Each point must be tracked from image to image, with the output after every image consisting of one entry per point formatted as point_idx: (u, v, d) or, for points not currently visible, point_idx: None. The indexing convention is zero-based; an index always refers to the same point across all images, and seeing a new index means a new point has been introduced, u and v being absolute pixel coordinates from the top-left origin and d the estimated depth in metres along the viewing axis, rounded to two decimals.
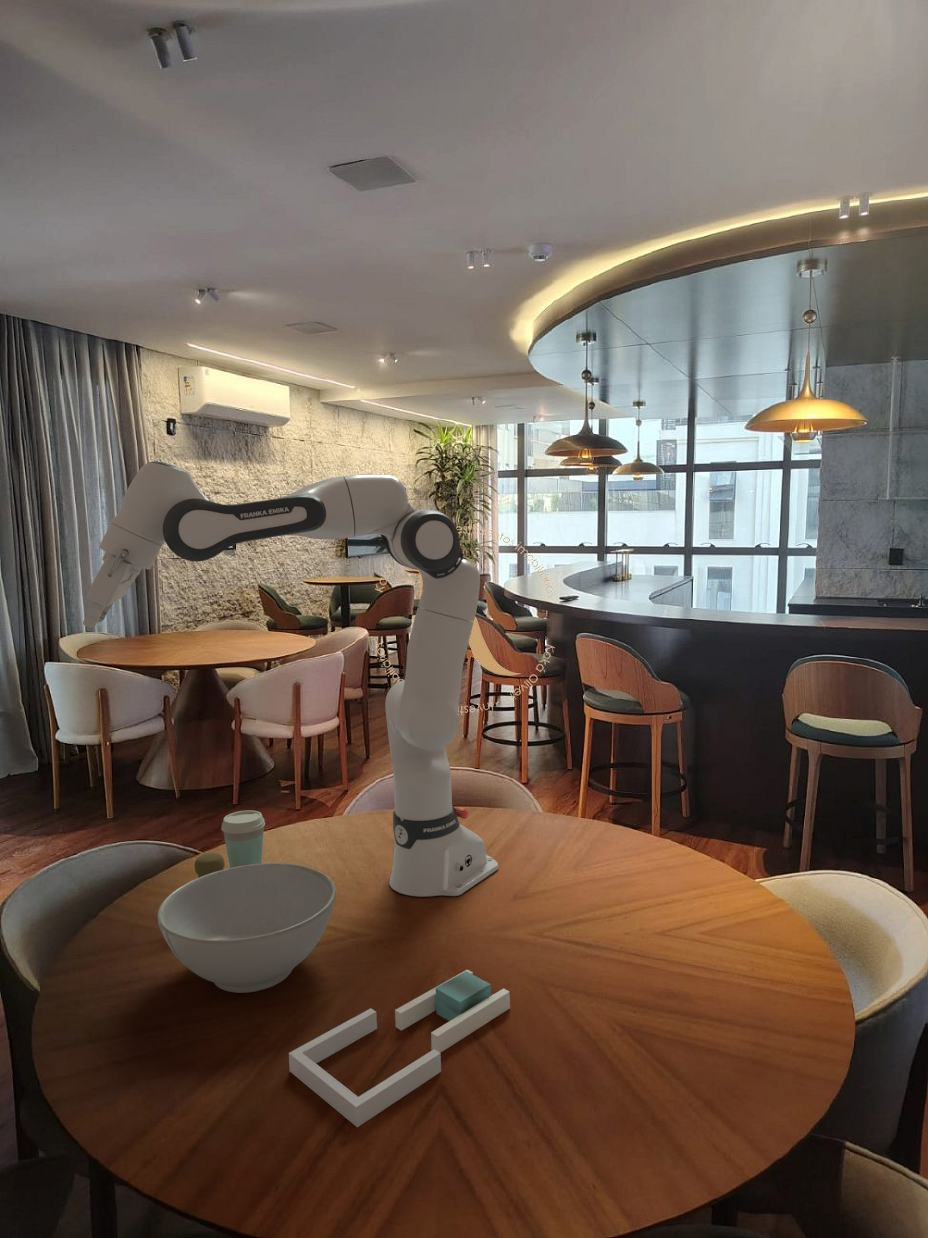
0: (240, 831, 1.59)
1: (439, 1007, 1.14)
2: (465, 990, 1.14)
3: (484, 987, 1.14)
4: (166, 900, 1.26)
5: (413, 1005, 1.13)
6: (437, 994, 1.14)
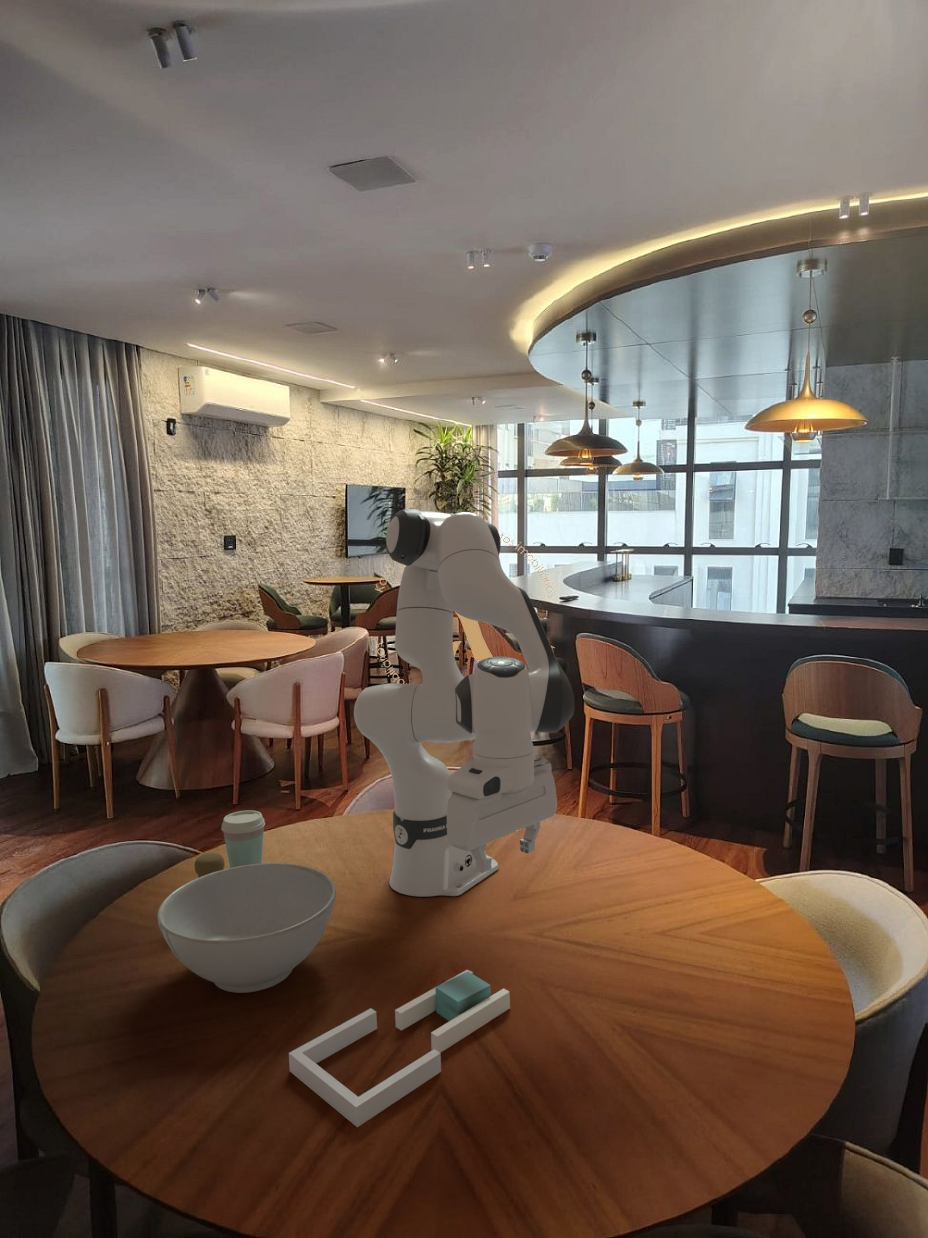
0: (240, 831, 1.59)
1: (438, 1006, 1.15)
2: (464, 990, 1.14)
3: (484, 988, 1.14)
4: (166, 900, 1.26)
5: (413, 1005, 1.13)
6: (437, 993, 1.15)
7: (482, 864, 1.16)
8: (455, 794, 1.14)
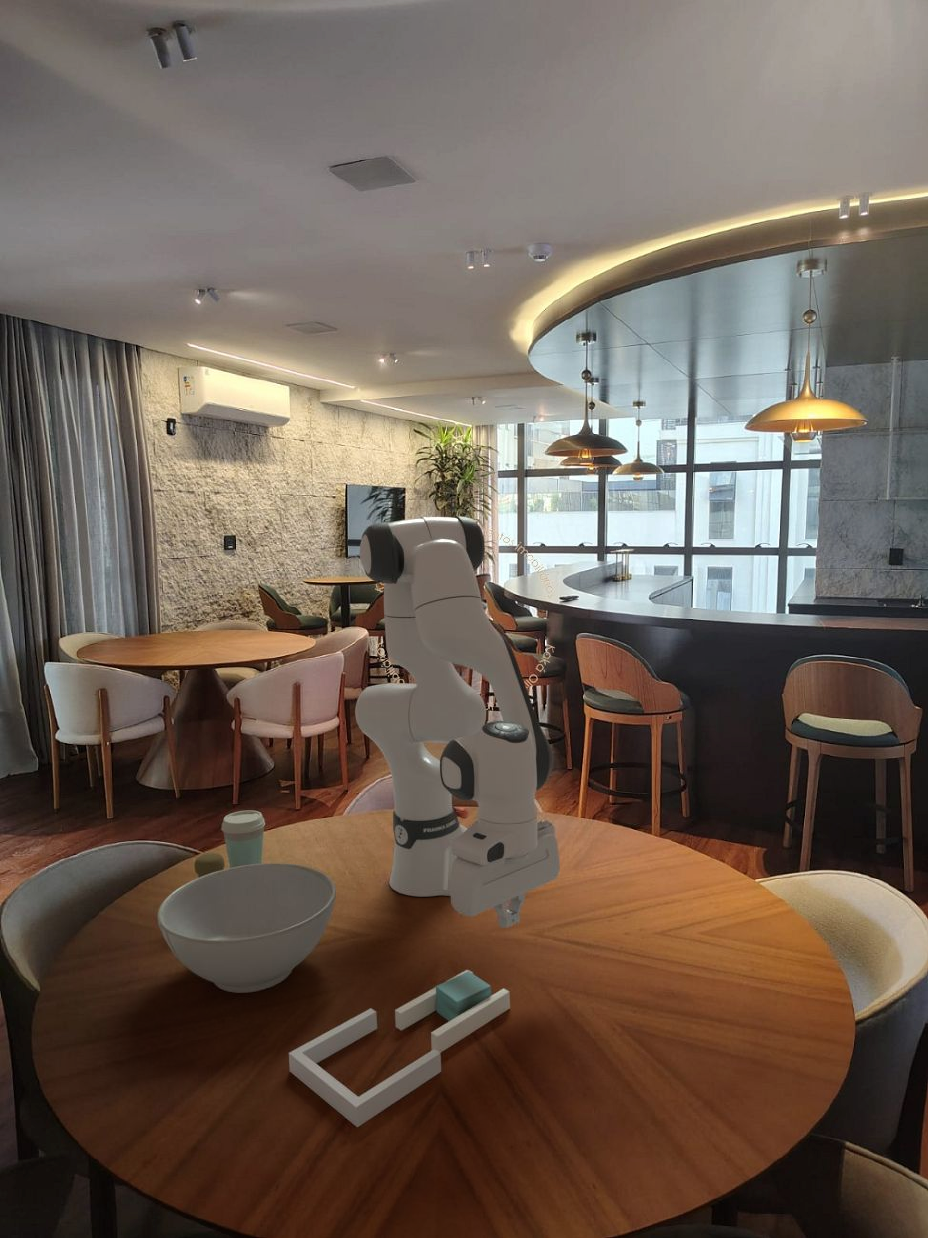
0: (240, 831, 1.59)
1: (438, 1005, 1.15)
2: (464, 990, 1.14)
3: (484, 989, 1.14)
4: (166, 900, 1.26)
5: (413, 1005, 1.13)
6: (437, 992, 1.15)
7: (504, 920, 1.19)
8: (459, 858, 1.15)
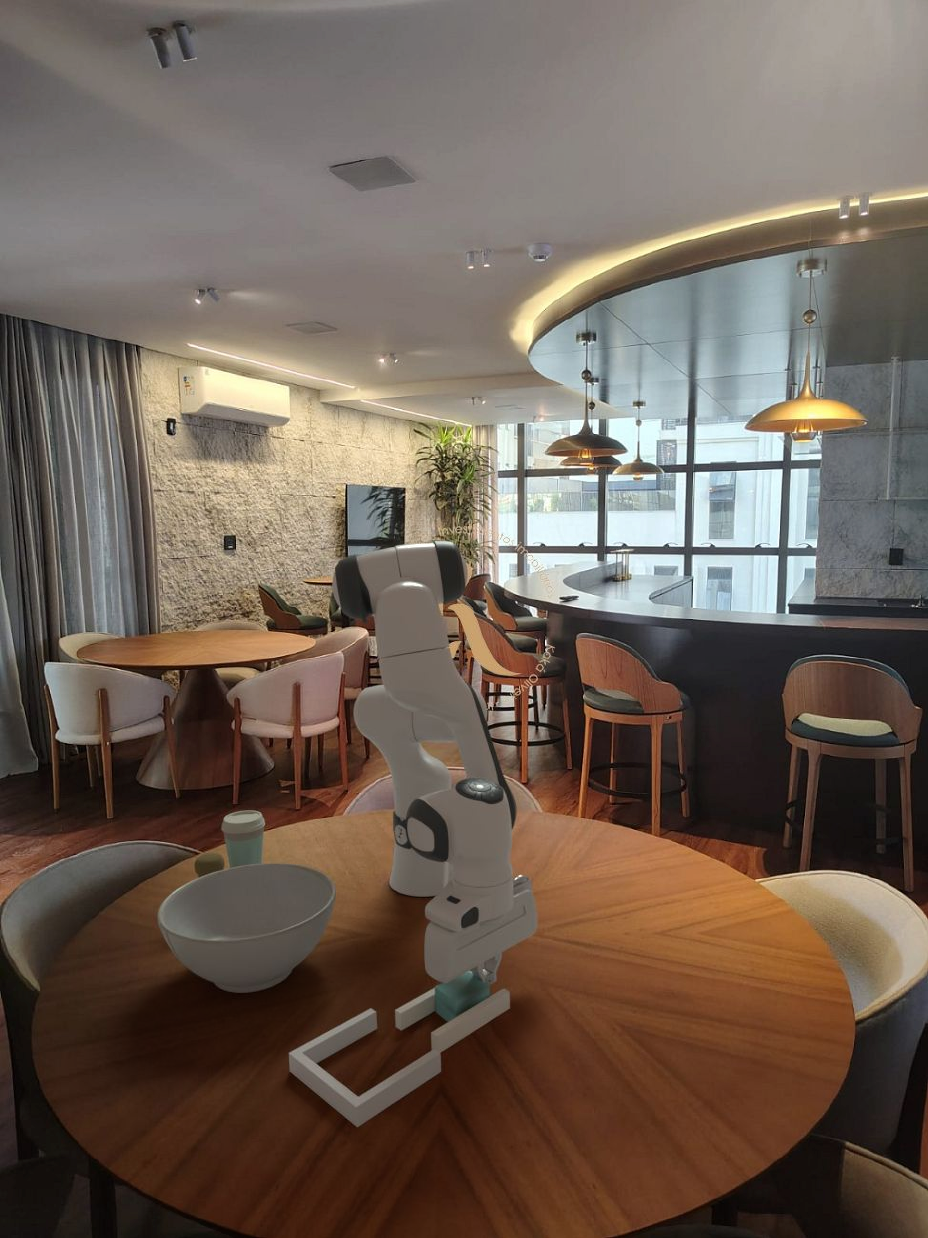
0: (240, 831, 1.59)
1: (437, 1005, 1.15)
2: (463, 991, 1.14)
3: (482, 989, 1.14)
4: (166, 900, 1.26)
5: (413, 1005, 1.13)
6: (436, 992, 1.15)
7: None
8: (433, 923, 1.12)
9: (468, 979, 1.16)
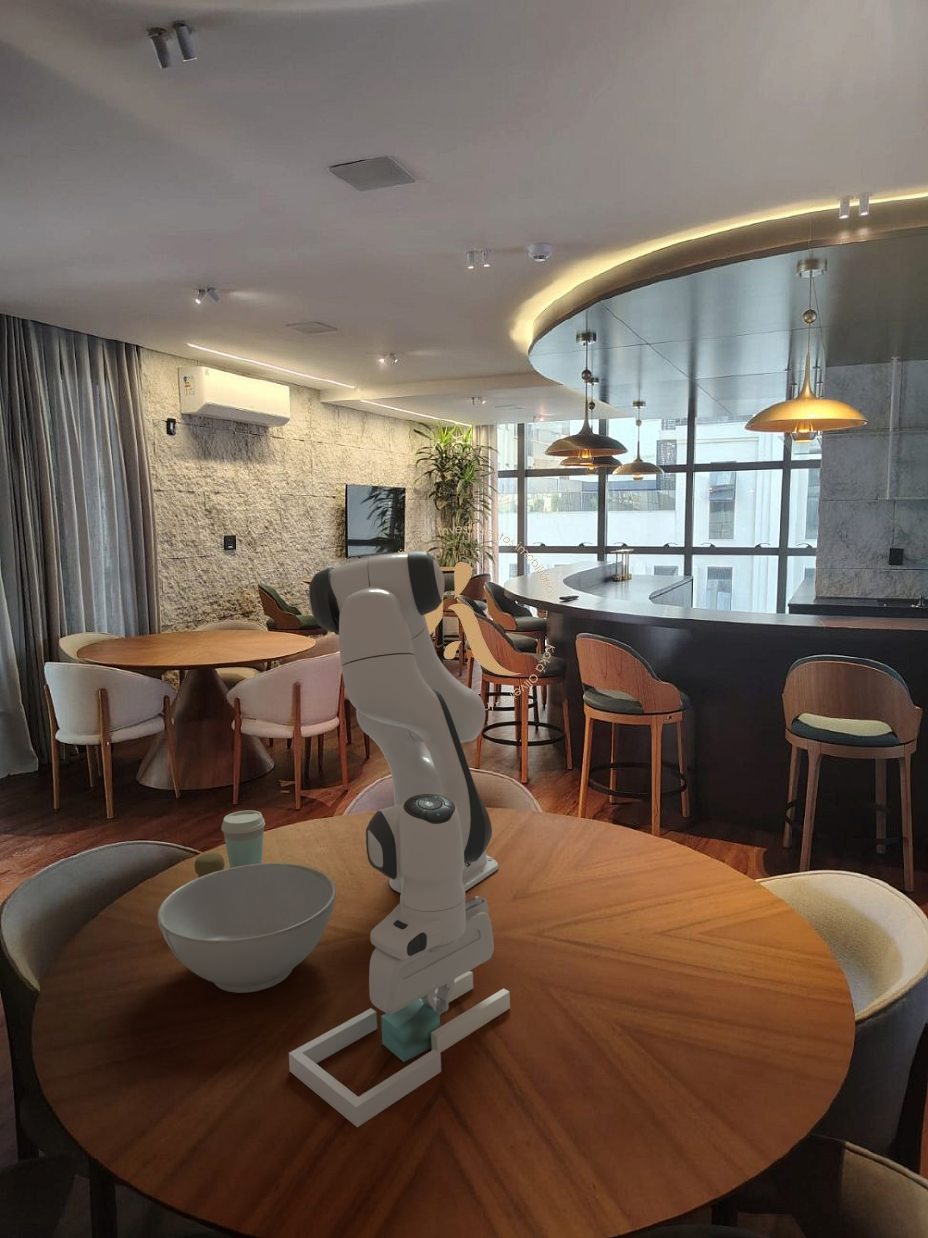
0: (240, 831, 1.59)
1: (384, 1036, 1.08)
2: (411, 1020, 1.07)
3: (432, 1018, 1.07)
4: (166, 900, 1.26)
5: None
6: (382, 1022, 1.08)
7: None
8: (378, 949, 1.06)
9: (417, 1007, 1.10)
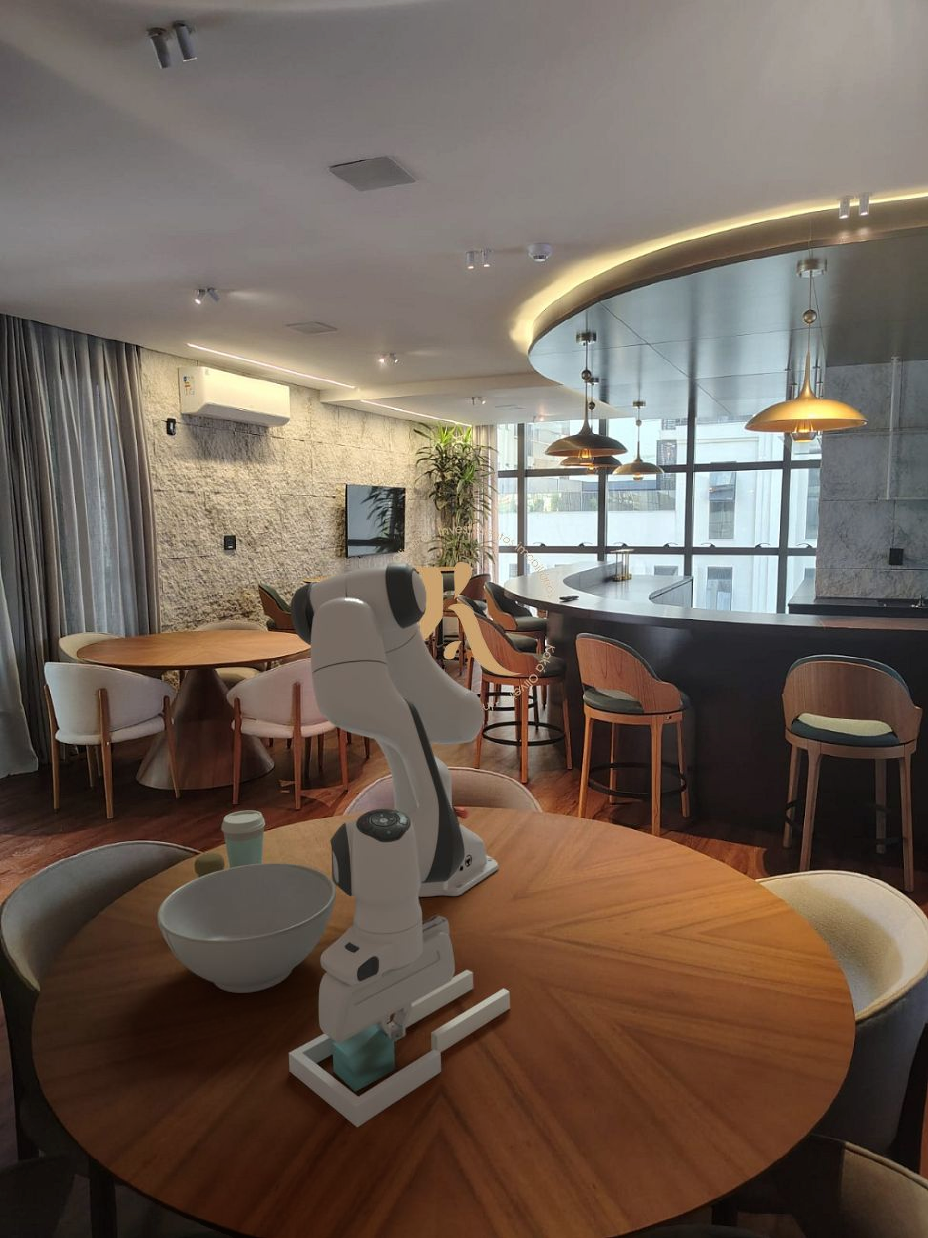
0: (240, 831, 1.59)
1: (335, 1065, 1.03)
2: (364, 1047, 1.02)
3: (386, 1045, 1.02)
4: (166, 900, 1.26)
5: (413, 1005, 1.13)
6: (334, 1050, 1.03)
7: None
8: (329, 973, 1.00)
9: (370, 1033, 1.05)
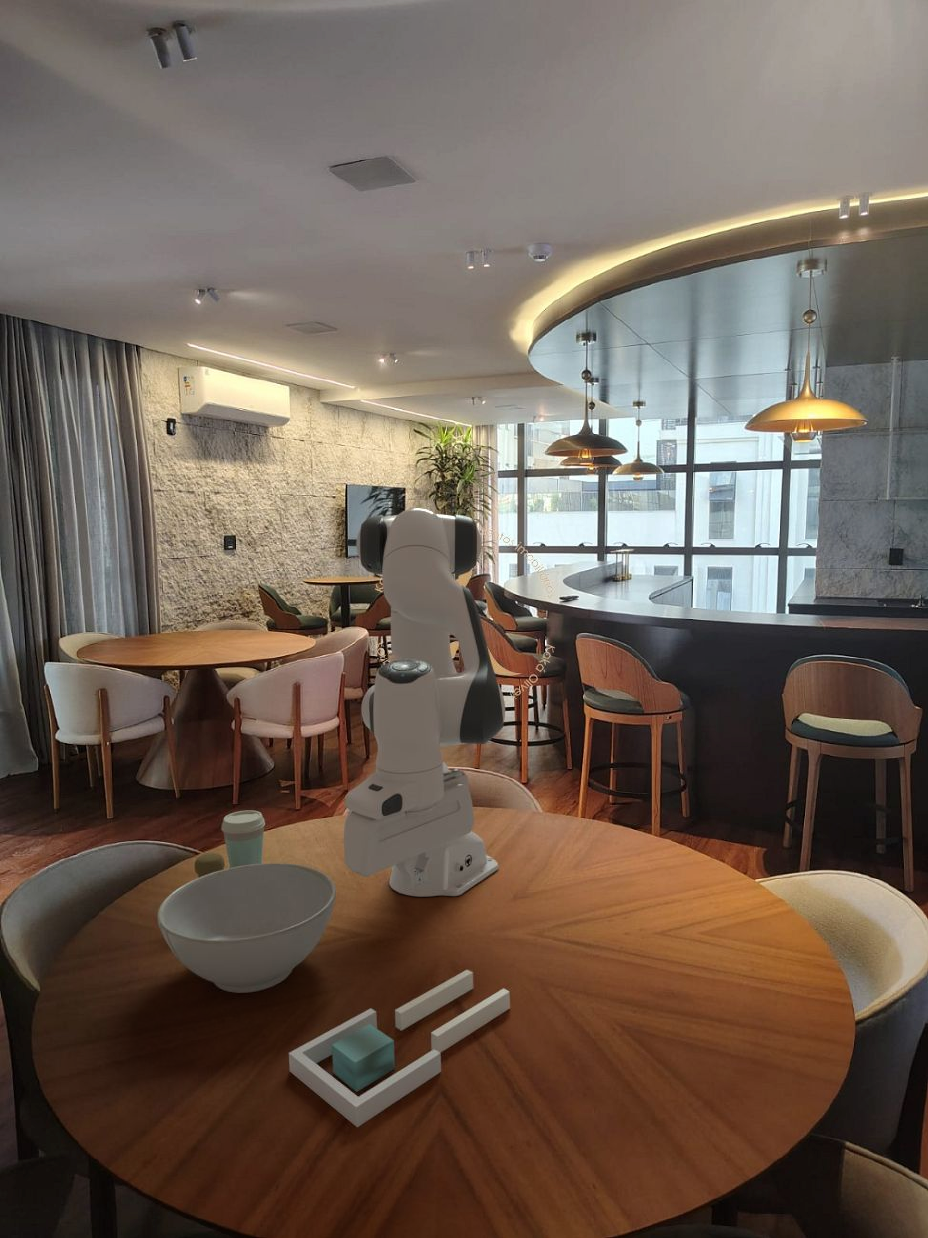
0: (240, 831, 1.59)
1: (335, 1066, 1.03)
2: (364, 1048, 1.02)
3: (386, 1044, 1.02)
4: (166, 900, 1.26)
5: (413, 1005, 1.13)
6: (333, 1051, 1.02)
7: (408, 879, 1.07)
8: (353, 813, 1.03)
9: (369, 1033, 1.05)
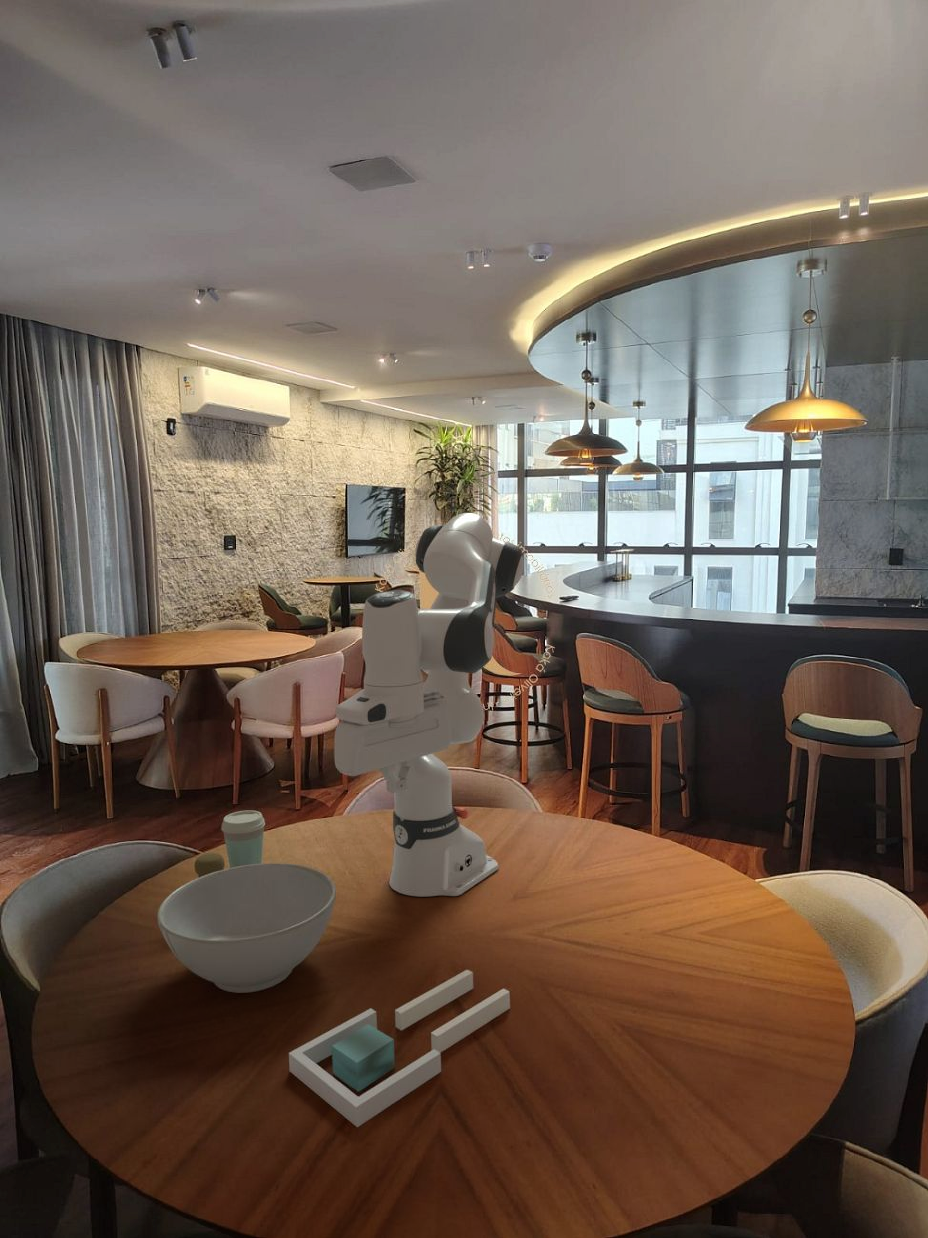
0: (240, 831, 1.59)
1: (335, 1067, 1.02)
2: (365, 1048, 1.02)
3: (386, 1043, 1.03)
4: (166, 900, 1.26)
5: (413, 1005, 1.13)
6: (333, 1052, 1.02)
7: (391, 784, 1.21)
8: (343, 721, 1.17)
9: (369, 1033, 1.05)
